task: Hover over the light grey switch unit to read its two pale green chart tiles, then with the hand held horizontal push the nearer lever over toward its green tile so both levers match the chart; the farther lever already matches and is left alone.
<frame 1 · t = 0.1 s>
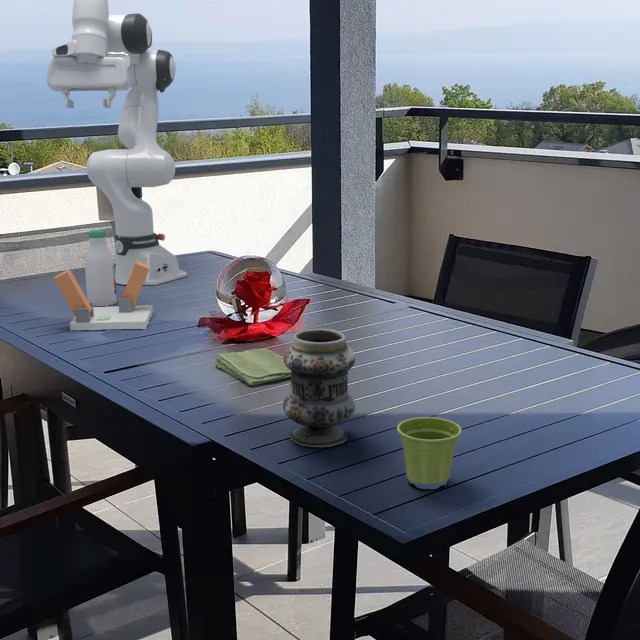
hand: (88, 107, 224), 52 cm above the table, tool tilted 20°, fingers open, 8 cm apart
washcloth: (258, 373, 188), on the table
apothecary jar: (319, 438, 153), on the table
lever 1: (73, 295, 220), point 8 cm above the table, hinge at -25.0°
plant pot: (427, 483, 136), on the table
switch unit: (113, 321, 227), on the table
lever 2: (134, 285, 230), point 8 cm above the table, hinge at 25.0°
milk bottle: (102, 304, 245), on the table
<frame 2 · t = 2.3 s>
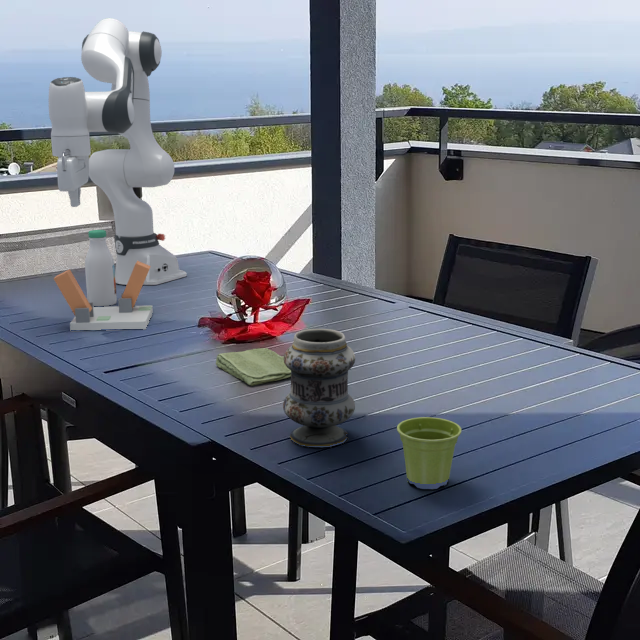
hand: (75, 206, 219), 29 cm above the table, tool pointing down, fingers closed
nothing on the table moved.
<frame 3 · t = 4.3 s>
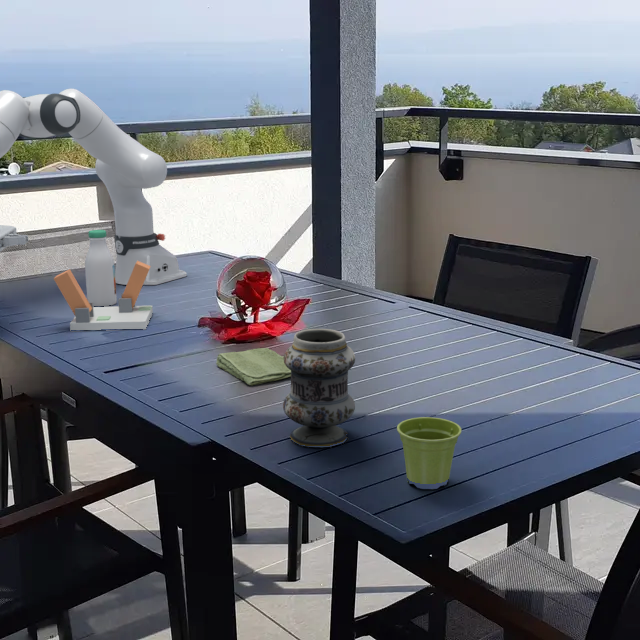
hand: (26, 239, 216), 22 cm above the table, tool horizontal, fingers closed
nothing on the table moved.
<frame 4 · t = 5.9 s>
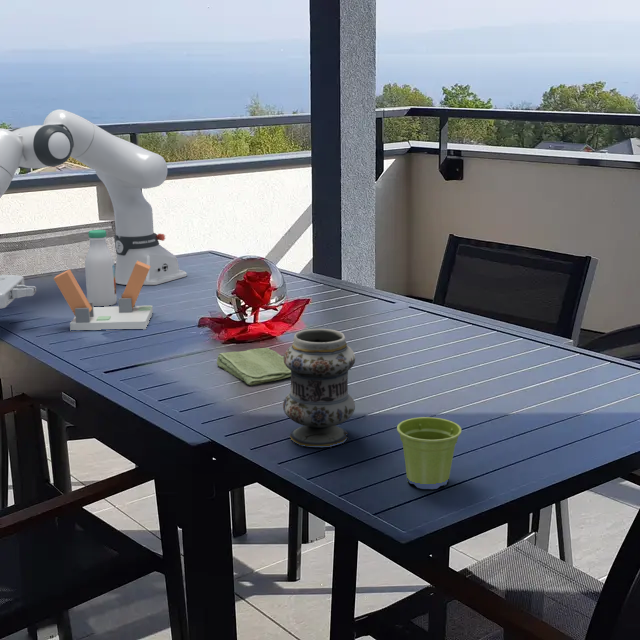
hand: (34, 291, 219), 9 cm above the table, tool horizontal, fingers closed
nothing on the table moved.
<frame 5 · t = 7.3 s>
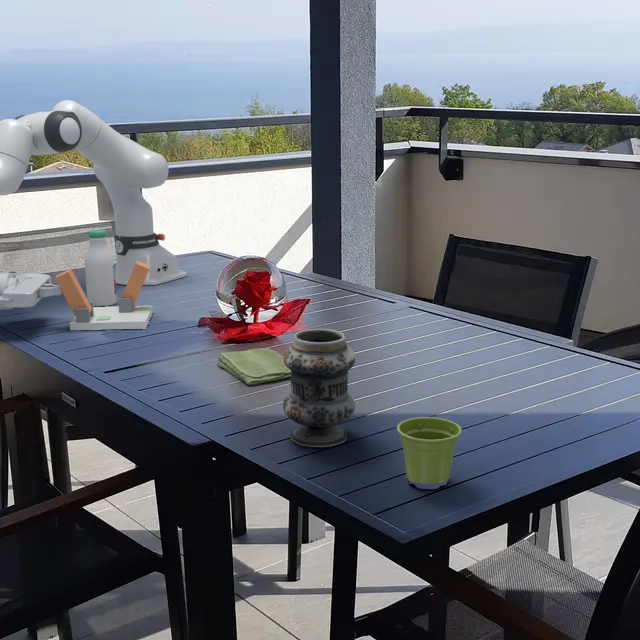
hand: (62, 290, 220), 9 cm above the table, tool horizontal, fingers closed, pressing on lever 1
lever 1: (74, 294, 220), point 8 cm above the table, hinge at -23.2°, touching gripper
everything else where it was.
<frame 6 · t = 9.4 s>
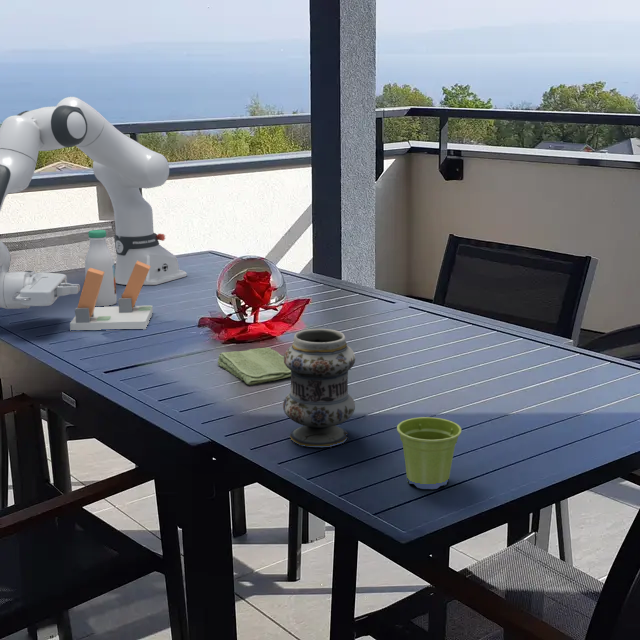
hand: (79, 288, 220), 10 cm above the table, tool horizontal, fingers closed
lever 1: (89, 293, 220), point 8 cm above the table, hinge at 18.7°
everything else where it was.
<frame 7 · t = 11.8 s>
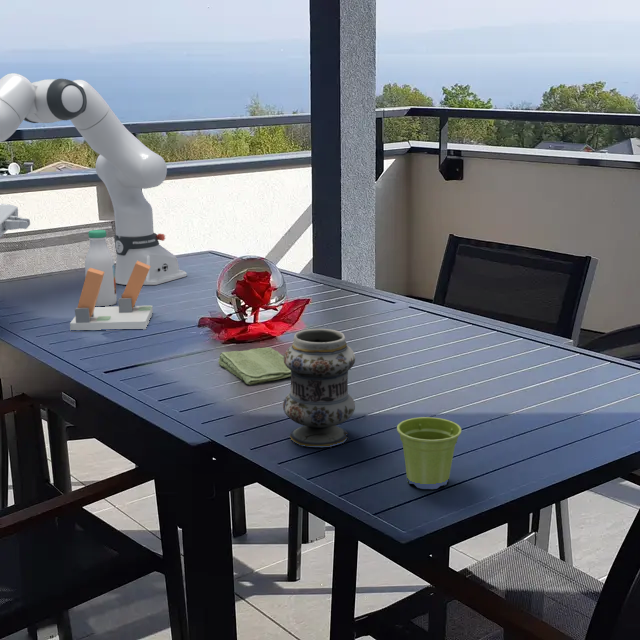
hand: (28, 223, 216), 26 cm above the table, tool horizontal, fingers closed
nothing on the table moved.
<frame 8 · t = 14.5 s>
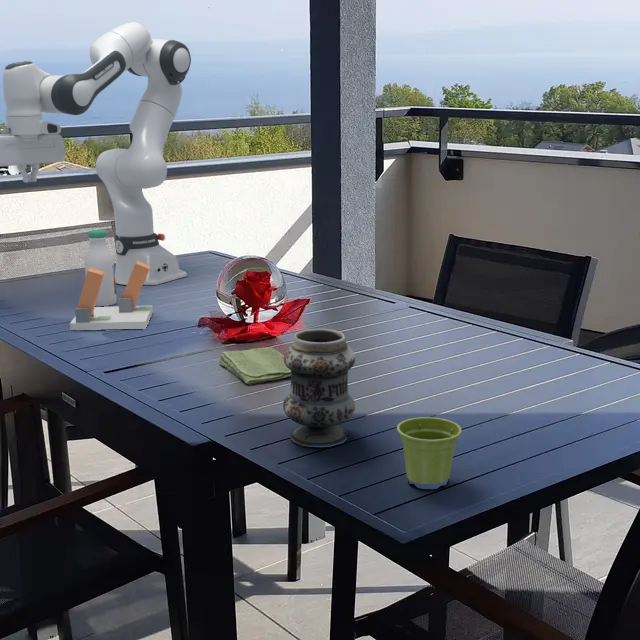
hand: (30, 181, 236), 33 cm above the table, tool pointing down, fingers closed
nothing on the table moved.
at the end: lever 1 at +19° (first picture: -25°); lever 2 at +25° (first picture: +25°) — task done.
